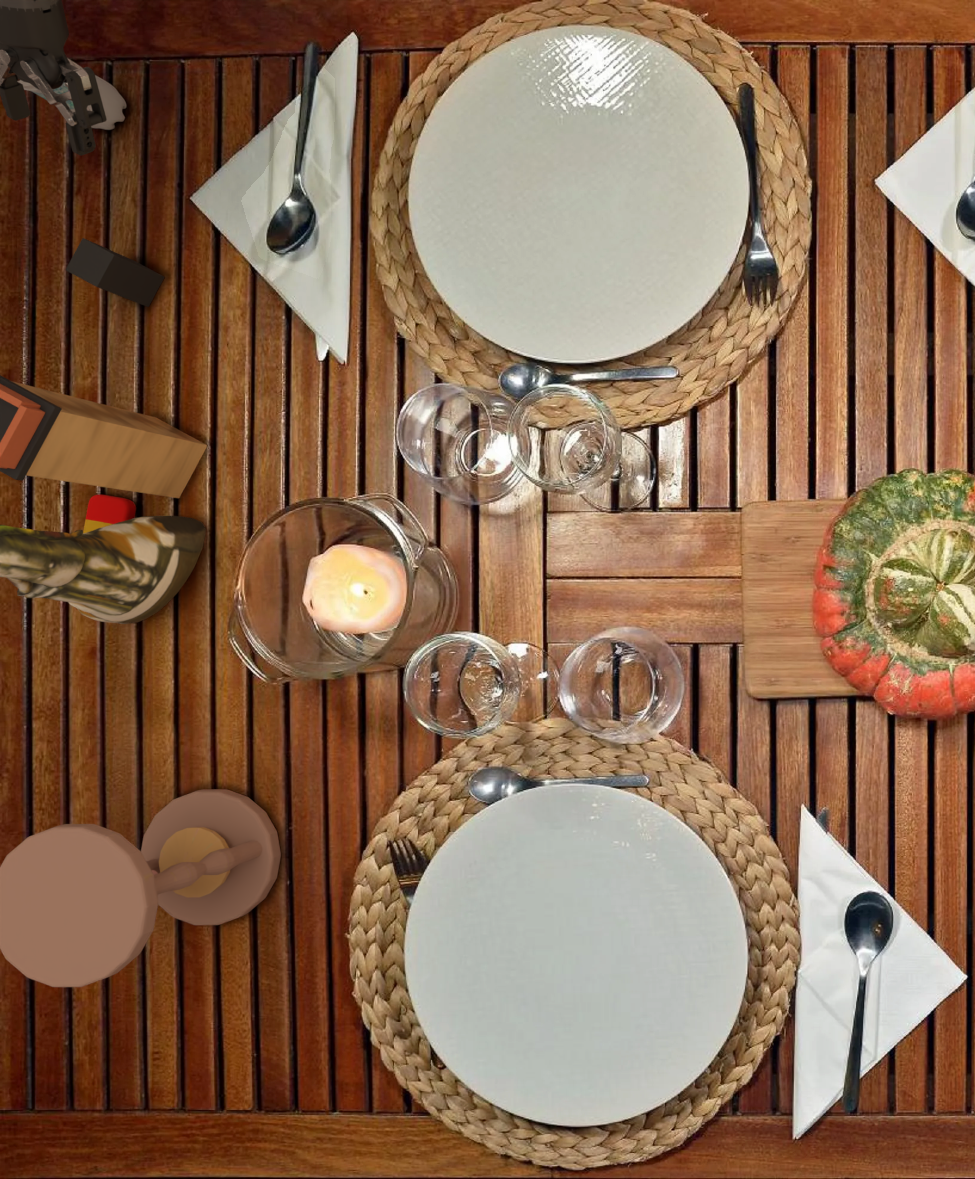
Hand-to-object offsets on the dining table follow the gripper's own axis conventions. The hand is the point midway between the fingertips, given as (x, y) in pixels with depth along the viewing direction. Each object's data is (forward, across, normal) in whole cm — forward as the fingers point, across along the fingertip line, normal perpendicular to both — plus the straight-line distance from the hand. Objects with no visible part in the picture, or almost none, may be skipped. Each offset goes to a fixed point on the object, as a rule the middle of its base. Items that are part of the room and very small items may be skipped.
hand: (52, 135), depth 121 cm
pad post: (+24, 0, +7) cm, 25 cm away
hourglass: (+67, +45, -37) cm, 89 cm away
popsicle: (+47, +13, -17) cm, 52 cm away
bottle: (+11, -15, +20) cm, 27 cm away
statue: (+46, +21, -16) cm, 53 cm away
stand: (+37, +14, -6) cm, 40 cm away
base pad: (+19, +14, -24) cm, 34 cm away
